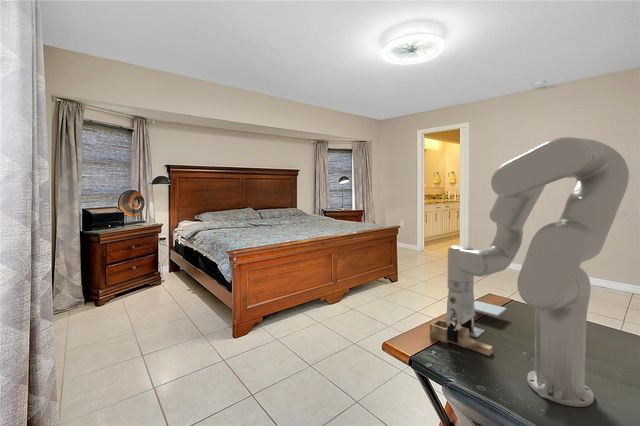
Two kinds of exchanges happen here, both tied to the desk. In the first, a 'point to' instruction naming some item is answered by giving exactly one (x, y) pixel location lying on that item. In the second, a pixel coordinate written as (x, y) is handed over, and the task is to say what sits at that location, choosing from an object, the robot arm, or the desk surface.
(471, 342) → the link
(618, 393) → the desk surface
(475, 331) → the pintle
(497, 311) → the plate
